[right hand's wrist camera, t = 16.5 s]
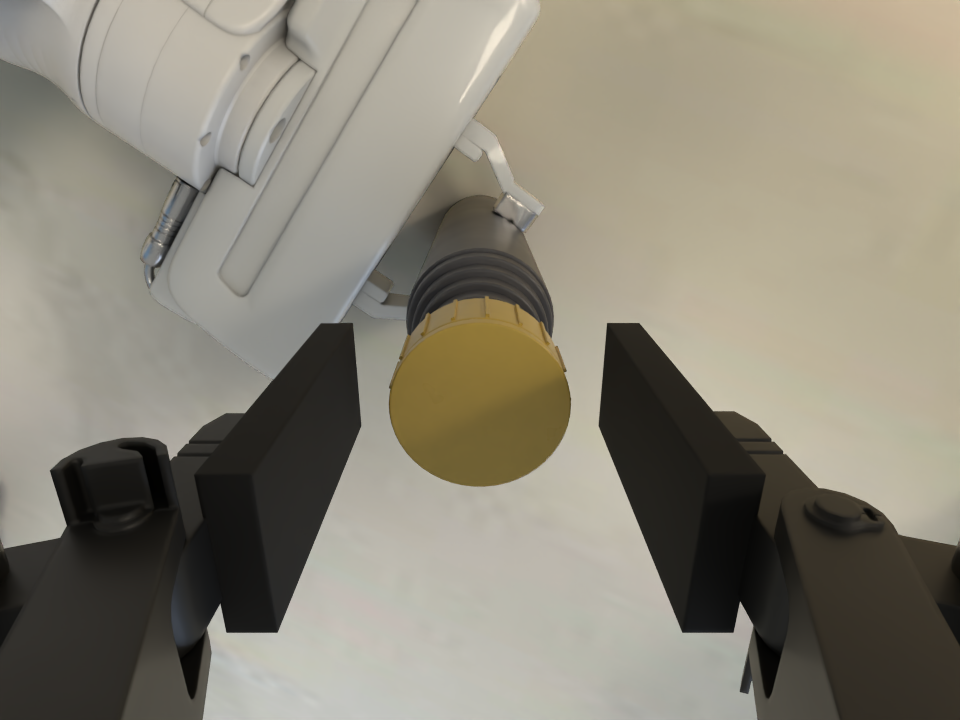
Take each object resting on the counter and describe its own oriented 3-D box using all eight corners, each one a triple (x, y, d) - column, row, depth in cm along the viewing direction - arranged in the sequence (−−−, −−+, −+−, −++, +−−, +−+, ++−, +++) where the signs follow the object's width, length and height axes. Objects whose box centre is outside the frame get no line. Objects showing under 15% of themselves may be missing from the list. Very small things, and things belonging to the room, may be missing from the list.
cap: (595, 368, 14) (613, 402, 12) (486, 473, 15) (487, 519, 13) (473, 260, 13) (472, 280, 11) (366, 380, 14) (349, 417, 13)
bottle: (455, 288, 34) (421, 510, 14) (426, 212, 32) (341, 339, 12) (531, 262, 33) (607, 454, 13) (505, 183, 32) (549, 267, 12)
